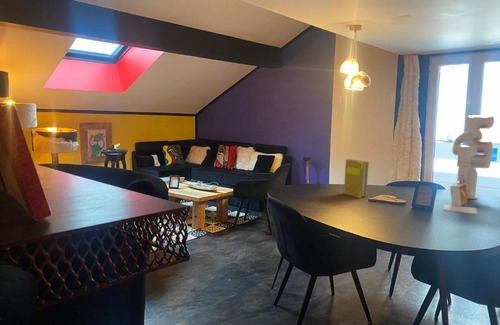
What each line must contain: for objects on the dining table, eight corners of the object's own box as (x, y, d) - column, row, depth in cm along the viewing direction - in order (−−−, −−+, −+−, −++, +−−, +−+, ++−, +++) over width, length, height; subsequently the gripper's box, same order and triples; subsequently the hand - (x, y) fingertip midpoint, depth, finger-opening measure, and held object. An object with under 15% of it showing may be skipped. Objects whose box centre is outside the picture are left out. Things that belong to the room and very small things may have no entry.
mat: (444, 205, 251) (444, 204, 251) (476, 209, 243) (476, 208, 243) (443, 210, 237) (443, 209, 237) (477, 214, 229) (477, 213, 229)
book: (366, 196, 271) (368, 161, 268) (360, 197, 267) (362, 162, 264) (348, 192, 285) (350, 159, 281) (341, 193, 281) (343, 159, 278)
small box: (461, 206, 245) (459, 186, 243) (451, 205, 251) (449, 186, 249) (467, 202, 250) (466, 183, 248) (458, 201, 255) (456, 182, 253)
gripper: (457, 163, 260) (454, 189, 262) (457, 165, 247) (454, 193, 249) (469, 163, 257) (467, 190, 259) (470, 166, 243) (467, 194, 246)
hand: (460, 191), depth 254 cm, fingers closed
